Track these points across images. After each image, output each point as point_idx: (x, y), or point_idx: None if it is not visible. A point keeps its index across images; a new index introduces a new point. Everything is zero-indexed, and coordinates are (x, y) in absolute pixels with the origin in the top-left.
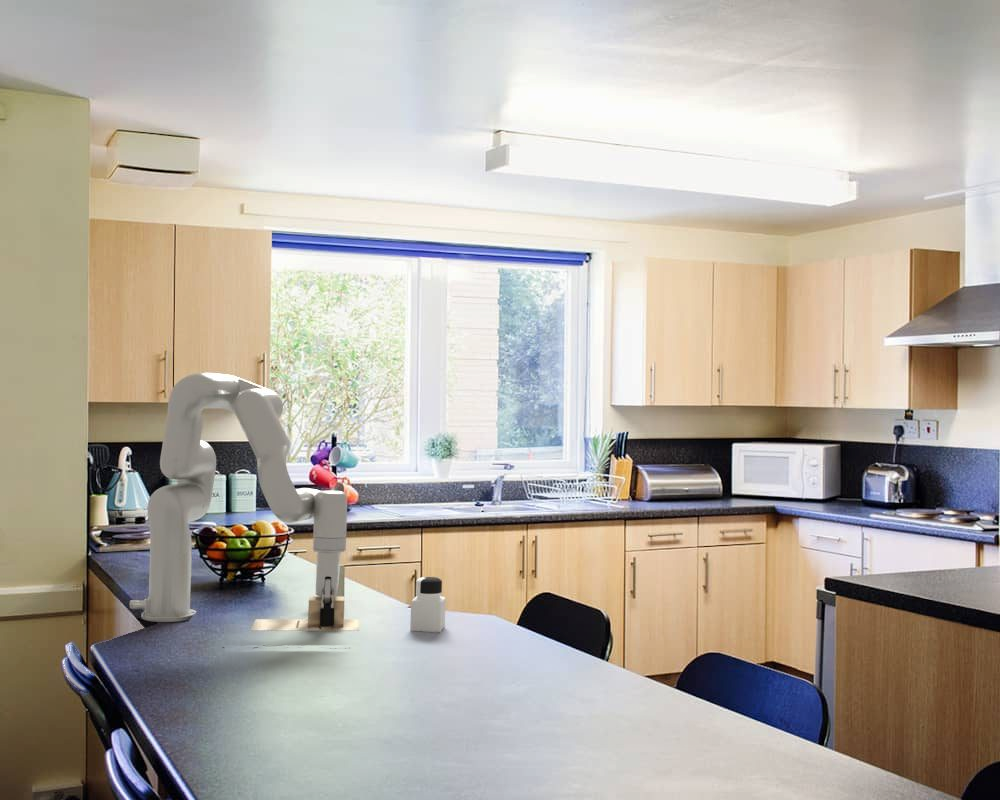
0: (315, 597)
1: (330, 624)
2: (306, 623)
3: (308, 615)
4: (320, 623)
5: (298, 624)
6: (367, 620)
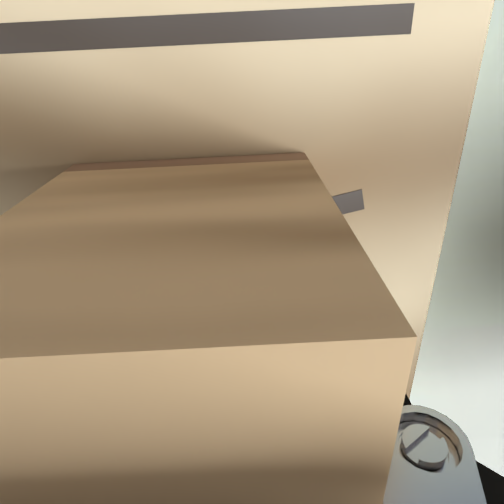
0: (249, 456)
1: None
2: (249, 131)
3: (12, 210)
4: None
5: (177, 40)
6: (492, 464)
